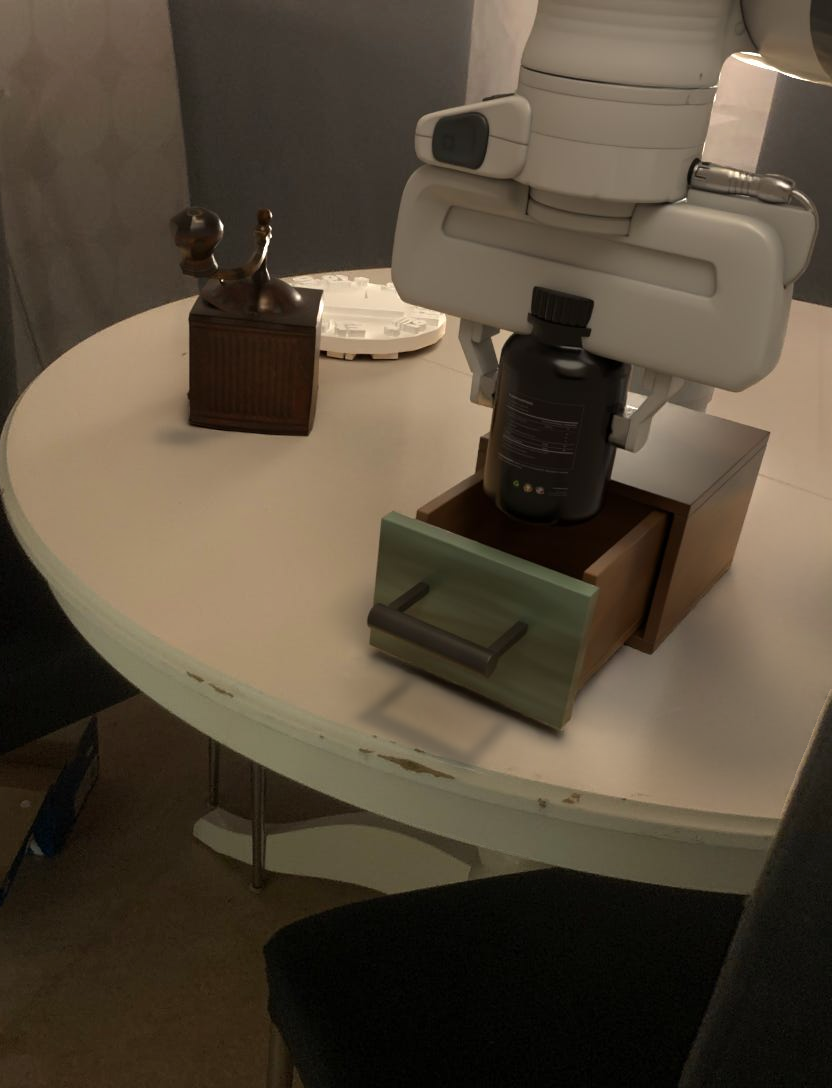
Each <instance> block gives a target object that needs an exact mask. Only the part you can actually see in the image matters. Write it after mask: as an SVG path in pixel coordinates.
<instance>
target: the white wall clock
mask: <svg viewBox="0 0 832 1088" xmlns="http://www.w3.org/2000/svg"><path fill="white" fill-rule="evenodd" d="M369 282H370V279H369V278H368V277H365V276H359V277H357V276H355V277H354V279H353V280H349V276H347V275H343V274H335V275H331V274H327V275H325V274H324V275H322V276H321V279H319V278H315V279H314V276H310V275H302V276H297V277H293V278H292V281H291V282H288V284H289V285H291V286H293V287H303V288H312V289H321V290H324V304H323V312H322V326H321V341H320V351H326V356H327V357H332V358H338V359H344V358H345V360H351V361H352V360H354V359H355V357H356V356H357V355H370V357H371V358H372V359H374V360H382V359H383V360H386V359H387V360H389V359H390V360H391V359H393V360H395V359H399V353H404V352H413V351H416V350H419V349H423V348H425V347H429V346H431V345H434V344H436V343H438V341H439V340H440V339H441V338H442V337H443V336H444V335H445V334H446V327H447V317H446V314H444V313H440V312H437V311H433V310H429V309H426V308H422V307H418V306H415V305H411V304H407V303H405V302H403V301H402V300H401V299H400V297H399V295H398V293H397V291H396V289H395V287H394V284H393V282H387V283H386V284H380V283H379V284H378V283H369Z"/></svg>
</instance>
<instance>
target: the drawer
mask: <svg viewBox="0 0 832 1088" xmlns="http://www.w3.org/2000/svg"><path fill="white" fill-rule="evenodd" d="M484 472H485V467H484V468H483V469H481V470H480V471H478V472H476V473H475V472H474V473H473V474H471V475H470V476H468V477H466V478H465V479H463V480H461V481H460V482H459V483H457V484H455V485H454V486H453V487H451V488H449V489H447V490H446V491H444V492H443V493H441V494H440V495H438V496H437V497H435V498H433V499H431V500H430V501H428V502H427V503H425V504H424V505H422V506H420V507H419V508H417V509H416V511H415V518H414V517H411V516H409V515H406V514H403V513H400V512H398V511H395V510H392V511H390V512H388V513H387V514H385V515H383V516H382V517H381V518H380V519H381V520H380V528H379V529H380V531H379V540H378V549H377V559H376V560H377V561H376V570H375V581H374V591H373V603H372V607H371V608H370V610H369V612H368V615H367V618H366V625H367V627H368V628H369V629H370V633H369V642H368V643H369V646H371V647H373V648H376V649H378V650H381V651H383V652H385V653H387V654H389V655H392V656H393V657H396V658H398V659H400V660H403V661H405V662H408V663H410V664H412V665H414V666H416V667H419V668H421V669H422V670H426V671H428V672H430V673H431V674H435V675H437V676H439V677H441V678H443V679H446V680H448V681H450V682H452V683H455V684H457V685H459V686H461V687H463V688H466V689H467V690H470V691H473V692H475V693H477V694H479V695H482V696H484V697H486V698H488V699H490V700H493V701H495V702H498V703H500V704H502V705H505V706H506V707H509V708H511V709H513V710H515V711H518V712H521V713H522V714H525V715H527V716H530V717H531V718H534V719H536V720H538V721H540V722H542V723H545V724H547V725H550V726H552V727H554V728H556V729H558V730H562V729H563V728H564V727H565V726H566V725H567V724H568V723H569V722H570V720H571V719H572V718H571V717H572V714H573V709H574V705H575V700H576V697H577V696H576V695H577V693H578V691H579V690H581V688H582V687H584V685H585V684H586V683H587V682H588V681H589V680H590V679H591V678H592V677H593V676H594V675H595V674H596V673H597V672H598V670H599V669H600V668H601V667H602V666H603V665H604V664H605V663H606V662H607V661H608V660H609V659H611V657H612V656H613V655H614V654H615V653H616V652H617V651H618V649H619V648H621V647H622V645H623V644H624V642H625V641H626V640H627V639H628V638H629V637H630V636H631V635H632V634H633V633H634V632H635V631H636V630H637V629H638V628H639V627H640V625H641V624H642V623H643V622H644V621H645V620H646V619H647V617H648V613H649V609H650V605H651V601H652V597H653V593H654V589H655V586H656V582H657V578H658V574H659V570H660V566H661V562H662V558H663V554H664V550H665V546H666V543H667V539H668V535H669V531H670V527H671V523H672V519H673V515H674V513H671V512H668V511H665V510H662V509H659V508H656V507H653V506H650V505H647V504H644V503H641V502H638V501H635V500H632V499H629V498H626V497H623V496H620V495H617V494H614V493H611V492H608V493H607V498H606V502H605V505H604V508H603V509H602V511H601V512H600V513H599V514H598V515H597V516H596V517H595V518H594V519H592V520H590V521H589V522H586V523H584V524H581V525H577V526H572V527H561V528H553V527H541V526H534V525H529V524H525V523H522V522H518V521H516V520H513V519H510V518H508V517H506V516H504V515H502V514H501V513H499V512H498V511H496V510H495V509H494V508H493V507H492V506H491V505H490V504H489V503H488V501H487V500H486V498H485V496H484V492H483V480H484Z"/></svg>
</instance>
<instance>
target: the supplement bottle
mask: <svg viewBox="0 0 832 1088" xmlns="http://www.w3.org/2000/svg"><path fill="white" fill-rule="evenodd" d="M593 308H594V301H593V300H591V299H588V298H584V297H580V296H576V295H572V294H568V293H564V292H560V291H556V290H552V289H547V288H543V287H538V286H534V288H533V291H532V301H531V312H532V313H528V317H527V321H528V322H529V323H530V324H532V325H533V328H532V332H531V334H527V335H521V334H517V333H514V332H512V333H511V334H510V335H509V337H507V338H506V340H505V342H504V343H503V345H502V348H501V350H500V356H499V360H498V364H499V368H498V375H497V382H496V390H495V397H494V404H493V409H492V413H491V420H490V427H489V432H490V434H489V441H488V448H487V456H486V463H485V472H484V480H483V492H484V496H485V498H486V500H487V501H488V503H489V504H490V505H491V506H492V507H493V508H494V509H495V510H496V511H498V512H499V513H501V514H502V515H504V516H506V517H508V518H510V519H513V520H516V521H518V522H522V523H525V524H529V525H534V526H541V527H553V528H561V527H572V526H577V525H581V524H584V523H586V522H589V521H590V520H592V519H594V518H595V517H596V516H597V515H598V514H599V513H600V512H601V511H602V509H603V508H604V505H605V502H606V498H607V493H608V489H609V485H610V480H611V475H612V470H613V465H614V460H615V455H616V451H617V447H613V446H610V445H609V444H608V438H609V435H610V434H611V433H612V432H613V431H612V429H611V424H612V419H613V415H614V414H616V413H617V412H619V411H622V409H623V408H624V407H626V402H627V397H628V392H630V387H631V383H632V377H633V372H634V371H633V370H634V365H631V364H627V363H624V362H620V361H616V360H613V359H609V358H605V357H602V356H598V355H595V354H592V353H590V352H589V351H587V350H585V349H584V348H583V346H582V339H581V337H590V334H591V330H592V329H591V328H587V327H586V326H587V325H588V323H589V321H590V319H591V316H592V312H593Z"/></svg>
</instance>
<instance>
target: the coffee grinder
mask: <svg viewBox="0 0 832 1088" xmlns="http://www.w3.org/2000/svg"><path fill="white" fill-rule="evenodd" d="M272 220H273V215H272V212H271V210H270V209H269V208H267V207H259V208H258V209H257V211H256V213H255V221H256V225H255V226H254V228H253V238H254V246H253V249H252V253H251V256H250V258H249V260H248V261H247V263H245V264H244V265H242V266H239V267H237V268H219V264H218V262H217V260H216V259H215V255H214V252H215V249H216V247H217V246H218V245H219V244H220V242H221V241H222V240H223V237H224V224H223V222H222V220H221V218H220V217H219V215H218V213H217V212H214V211H213V210H211V209H207V208H205V207H203V206H197V205H194V206H189V207H186V208H183V209H182V210H180V211H179V212H177V213H176V214H175V215H174V216H172V218H170V220H169V224H168V229H169V232H170V236H171V238H172V239H173V242H174V244H175V246H176V247H177V248H178V249H179V250H180V251H181V254H182V256H181V260H180V263H179V268H180V270H181V273H182V275H184V276H186V277H190V278H194V279H202V278H206V279H208V281H207V282H206V283H205V285H204V286H203V287H202V288H201V290H200V293H199V294H198V296H197V297H196V300H195V302H194V303H193V305H192V307H191V309H190V311H189V313H188V319H187V321H188V391H187V393H186V395H187V399H188V401H189V411H188V419H187V420H188V423H189V424H192V425H195V426H201V427H206V428H212V429H217V430H226V431H227V430H228V431H236V432H245V433H246V432H247V433H258V434H269V435H287V436H309V434H310V432H312V430H313V426H314V424H315V423H314V422H315V418H316V413H317V412H316V411H317V403H318V392H319V373H320V371H319V370H320V354H321V350H320V341H321V326H322V312H323V304H324V290H321V289H312V288H303V287H293V286H291V285H289V284H288V283H289V282H288V283H287V282H286V281H284V280H282V279H280V278H278V277H276V276H273V275H270V274H269V271H268V247H269V244H270V241H271V238H272V237H273V236H272V227H271V226H270V225H271V222H272Z"/></svg>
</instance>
